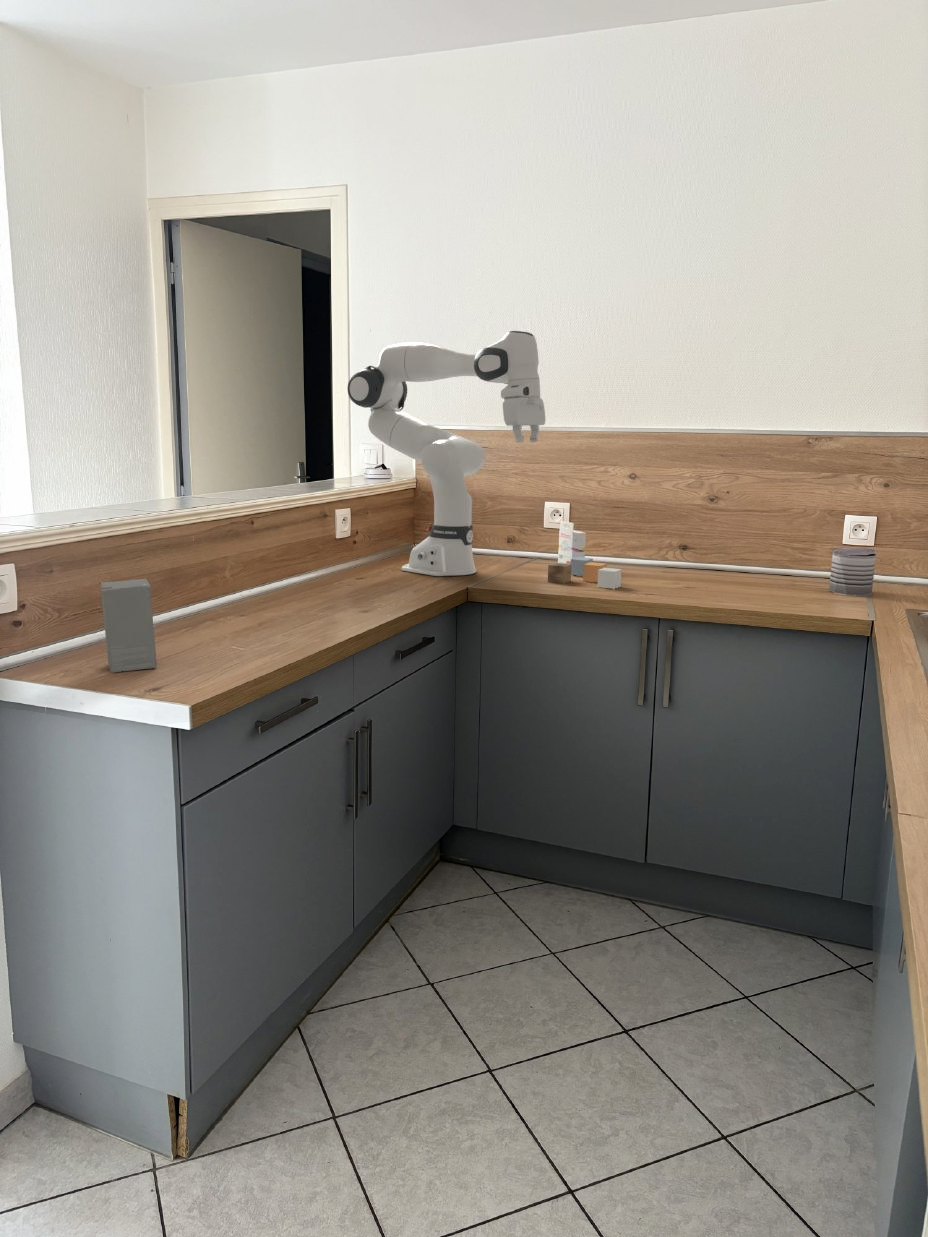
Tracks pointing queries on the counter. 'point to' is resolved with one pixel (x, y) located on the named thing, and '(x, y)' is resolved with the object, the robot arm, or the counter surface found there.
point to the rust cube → (592, 571)
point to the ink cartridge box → (570, 543)
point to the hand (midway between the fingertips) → (526, 442)
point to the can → (852, 571)
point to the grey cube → (609, 578)
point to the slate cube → (579, 565)
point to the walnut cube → (559, 573)
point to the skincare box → (128, 625)
